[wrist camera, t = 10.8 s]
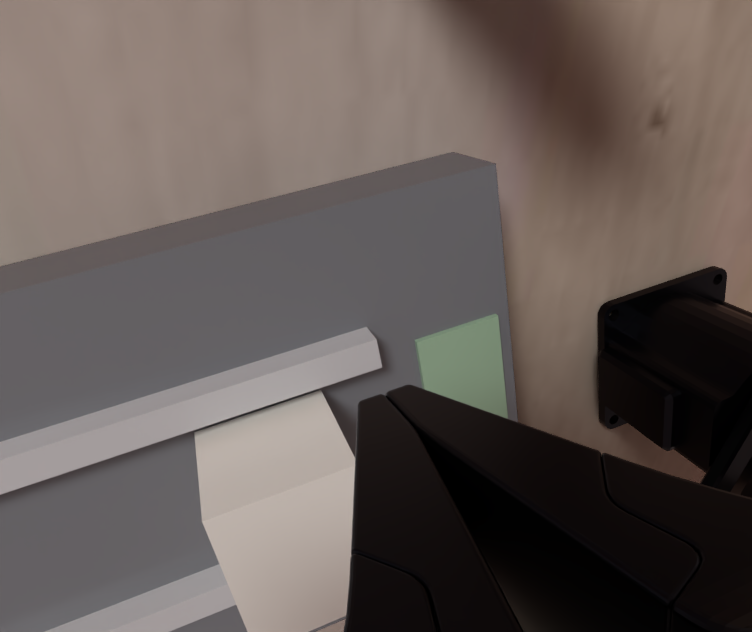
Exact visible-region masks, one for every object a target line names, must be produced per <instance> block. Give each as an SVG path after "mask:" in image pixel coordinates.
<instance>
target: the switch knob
mask: <svg viewBox="0 0 752 632" xmlns="http://www.w3.org/2000/svg"><path fill="white" fill-rule="evenodd" d="M194 436H195V447H196V458H197V470H198V481H199V493H200V504H201V515H202V523H203V525H204V528H205V530H206V533H207V535H208V537H209V540H210V542H211V545H212V547H213V549H214V552H215V554H216V557H217V559H218V562H219V564H220V566H221V569H222V571H223V574H224V576H225V579H226V581H227V583H228V586H229V588H230V591H231V593H232V596H233V598H234V600H235V603H236V605H237V608H238V610H239V612H240V615H241V617H242V620H243V622H244V625H245V627H246V629H247V632H309V631H311V630H314V629H316V628H318V627H321V626H323V625H325V624H328V623H330V622H332V621H335V620H337V619H339V618H342V617H344V616H346V612H347V601H348V589H349V576H350V558H351V541H352V519H353V496H354V474H355V457H354V455H353V453H352V451H351V449H350V447H349V445H348V443H347V441H346V439H345V437H344V435H343V433H342V431H341V429H340V427H339V425H338V423H337V421H336V419H335V417H334V415H333V413H332V411H331V409H330V407H329V405H328V403H327V401H326V399H325V397H324V395H323V393H322V391H321V390H319V391H316V392H313V393H310V394H307V395H304V396H301V397H298V398H295V399H292V400H289V401H286V402H283V403H280V404H277V405H274V406H271V407H268V408H265V409H262V410H259V411H256V412H253V413H250V414H247V415H245V416H242V417H239V418H236V419H233V420H230V421H227V422H224V423H221V424H218V425H215V426H212V427H209V428H206V429H203V430H200V431H197V432H194Z"/></svg>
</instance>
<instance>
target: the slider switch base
mask: <svg viewBox="0 0 752 632" xmlns="http://www.w3.org/2000/svg"><path fill="white" fill-rule="evenodd" d="M409 384H410V385H414V386H417V387H419V388H422V389H425V390H428V391H431V392H434V393H436V394H439V395H442V396H445V397H448V398H451V399H453V400H456V401H459V402H462V403H465V404H468V405H470V406H473V407H476V408H479V409H482V410H484V411H487V412H490V413H493V414H496V415H499V416H501V417H504V418H507V419H510V420H513V421H516V422H518V417H517V405H516V394H515V382H514V370H513V359H512V347H511V335H510V324H509V312H508V300H507V289H506V277H505V265H504V254H503V242H502V230H501V219H500V207H499V195H498V184H497V172H496V164H495V163H492V162H488V161H484V160H480V159H477V158H473V157H469V156H466V155H462V154H458V153H455V152H451V153H447V154H443V155H440V156H436V157H432V158H428V159H424V160H420V161H416V162H412V163H408V164H404V165H400V166H396V167H392V168H388V169H384V170H380V171H376V172H372V173H368V174H364V175H361V176H357V177H353V178H349V179H345V180H341V181H337V182H333V183H329V184H325V185H321V186H317V187H313V188H309V189H305V190H301V191H297V192H293V193H289V194H286V195H282V196H278V197H274V198H270V199H266V200H262V201H258V202H254V203H250V204H246V205H242V206H238V207H234V208H230V209H226V210H222V211H218V212H214V213H210V214H207V215H203V216H199V217H195V218H191V219H187V220H183V221H179V222H175V223H171V224H167V225H163V226H159V227H155V228H151V229H147V230H143V231H139V232H135V233H131V234H128V235H124V236H120V237H116V238H112V239H108V240H104V241H100V242H96V243H92V244H88V245H84V246H80V247H76V248H72V249H68V250H64V251H60V252H56V253H52V254H49V255H45V256H41V257H37V258H33V259H29V260H25V261H21V262H17V263H13V264H9V265H5V266H1V267H0V632H247V629H246V627H245V625H244V622H243V620H242V617H241V615H240V612H239V610H238V608H237V605H236V603H235V600H234V598H233V596H232V593H231V591H230V588H229V586H228V583H227V581H226V579H225V576H224V574H223V571H222V569H221V566H220V564H219V562H218V559H217V557H216V554H215V552H214V549H213V547H212V545H211V542H210V540H209V537H208V535H207V533H206V530H205V528H204V525H203V523H202V515H201V504H200V493H199V481H198V470H197V458H196V447H195V436H194V432H197V431H200V430H203V429H206V428H209V427H212V426H215V425H218V424H221V423H224V422H227V421H230V420H233V419H236V418H239V417H242V416H245V415H247V414H250V413H253V412H256V411H259V410H262V409H265V408H268V407H271V406H274V405H277V404H280V403H283V402H286V401H289V400H292V399H295V398H298V397H301V396H304V395H307V394H310V393H313V392H316V391H319V390H321V391H322V393H323V395H324V397H325V399H326V401H327V403H328V405H329V407H330V409H331V411H332V413H333V415H334V417H335V419H336V421H337V423H338V425H339V427H340V429H341V431H342V433H343V435H344V437H345V439H346V441H347V443H348V445H349V447H350V449H351V451H352V453H353V455H354V457H355V452H356V429H357V407H358V403H359V401H361V400H364V399H367V398H370V397H373V396H376V395H378V394H383V395H385V394H386V393H387V392H388V391H390V390H393V389H396V388H399V387H402V386H404V385H409ZM344 619H346V616H344V617H342V618H339V619H337V620H335V621H332V622H330V623H328V624H325V625H323V626H321V627H318V628H316V629H314V630H311V631H309V632H316V631H318V630H320V629H323V628H325V627H327V626H330V625H332V624H334V623H337V622H339V621H341V620H344Z"/></svg>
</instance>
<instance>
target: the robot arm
mask: <svg viewBox="0 0 752 632" xmlns="http://www.w3.org/2000/svg"><path fill="white" fill-rule="evenodd" d="M726 280H727V273H726V271H725V270H724V269H721V268H719V267H716V266H712V267H708V268H706V269H703V270H700V271H697V272H694V273H691V274H688V275H685V276H682V277H679V278H676V279H673V280H670V281H667V282H664V283H661V284H658V285H655V286H652V287H649V288H646V289H643V290H640V291H637V292H634V293H631V294H628V295H625V296H623V297H620V298H617V299H614V300H611V301H608V302H606V303H604V304H603V305H602V306H601V308H600V310H599V313H598V345H599V357H598V370H599V419H600V422H601V423H602V424H603V425H604V426H606V427H607V428H609V429H612V428H616V427H618V426H621V425H623V424H626V423H629V424H630V425H631V426H633V427H634V428H635V429H637V430H638V431H639V432H641V433H642V434H643V435H645V436H646V437H647V438H649V439H650V440H651V441H653V442H654V443H655V444H657V445H658V446H659V447H661V448H662V449H664V450H666V451H670V450H672V449H674V450H676V451H677V452H678V453H680V454H681V455H683V456H684V457H685V458H687V459H688V460H689V461H691V462H692V463H693V464H695V465H696V466H698V467H699V468H700V469H702V470H703V471H704V472H706V474H705V476H704V478H703V479H702V481H701V483H700V484H699V483H696V482H692V481H689V480H686V479H682V478H679V477H675V476H672V475H669V474H666V473H663V472H660V471H656V470H653V469H650V468H647V467H644V466H641V465H638V464H635V463H632V462H629V461H626V460H624V459H621V458H618V457H615V456H612V455H609V454H607V453H603V454H602V455H601V453H600V452H599V451H598V450H595V449H592V448H589V447H586V446H583V445H581V444H578V443H575V442H572V441H569V440H566V439H564V438H561V437H558V436H555V435H552V434H550V433H547V432H544V431H541V430H538V429H535V428H533V427H530V426H527V425H524V424H521V423H518V422H516V421H513V420H510V419H507V418H504V417H501V416H499V415H496V414H493V413H490V412H487V411H484V410H482V409H479V408H476V407H473V406H470V405H468V404H465V403H462V402H459V401H456V400H453V399H451V398H448V397H445V396H442V395H439V394H436V393H434V392H431V391H428V390H425V389H422V388H419V387H417V386H414V385H410V384H409V385H404V386H402V387H399V388H396V389H393V390H390V391H388V392H387V393H386V394H385V395H383V394H378V395H376V396H373V397H370V398H367V399H364V400H361V401H359V403H358V407H357V429H356V452H355V474H354V496H353V519H352V541H351V558H350V576H349V589H348V601H347V612H346V620H345V626H344V632H752V313H751V312H748V311H746V310H743V309H741V308H739V307H736V306H734V305H731V304H729V303H726V302H724V301H725V291H726ZM612 311H613V312H612ZM611 312H612V314H611V316H609V315H610V313H611Z"/></svg>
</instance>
